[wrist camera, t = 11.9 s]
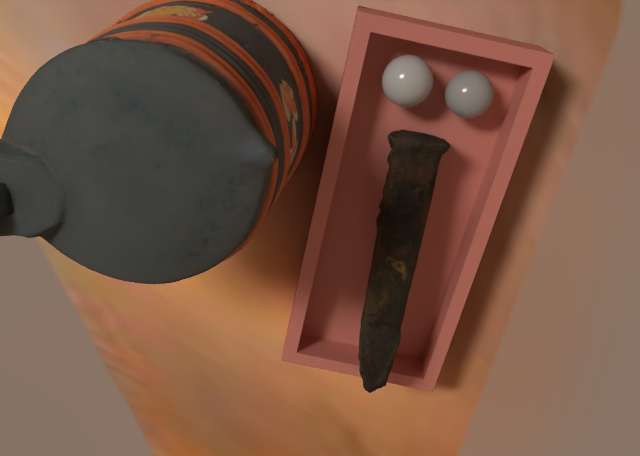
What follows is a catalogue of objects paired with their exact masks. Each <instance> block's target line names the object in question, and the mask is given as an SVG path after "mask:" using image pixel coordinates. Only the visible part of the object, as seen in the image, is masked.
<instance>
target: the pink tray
mask: <svg viewBox="0 0 640 456" xmlns="http://www.w3.org/2000/svg"><path fill="white" fill-rule="evenodd" d="M402 55H415V56H418V57H420V58H422V59H423V60H424V61H426V62H427V64H428V65H429V66H430V68H431V70H432V73H433V87H432V90H431V92H430V94H429V96H428V97H427V98H426V99H425V100H424V101H423V102H422V103H420V104H418V105H416V106H413V107H401V106H398V105H396V104H394V103H392V102H391V101H390V100H389V99H388V98H387V97H386V95H385V93H384V91H383V87H382V77H383V73H384V70H385V68H386V67H387V65H388V64H389V63H390V62H391V61H392V60H394V59H395V58H397V57H399V56H402ZM554 57H555V54H553V53H551V52H549V51H547V50H546V49H544V48H542V47H540V46H536V45H532V44H527V43H523V42H518V41H514V40H509V39H505V38H500V37H496V36H491V35H487V34H482V33H478V32H473V31H469V30H464V29H460V28H455V27H451V26H446V25H442V24H438V23H433V22H429V21H424V20H420V19H415V18H411V17H406V16H402V15H397V14H393V13H388V12H384V11H379V10H375V9H370V8H366V7H361V6H358V9H357V13H356V18H355V22H354V27H353V32H352V36H351V41H350V45H349V50H348V55H347V59H346V64H345V68H344V73H343V78H342V82H341V87H340V91H339V96H338V101H337V105H336V110H335V114H334V119H333V124H332V128H331V133H330V137H329V142H328V147H327V151H326V156H325V160H324V165H323V170H322V174H321V179H320V183H319V188H318V192H317V197H316V202H315V206H314V211H313V215H312V220H311V225H310V229H309V234H308V238H307V243H306V248H305V252H304V257H303V261H302V266H301V271H300V275H299V280H298V284H297V289H296V294H295V298H294V303H293V307H292V312H291V317H290V321H289V326H288V330H287V335H286V340H285V345H284V350H283V355H282V361H286V362H291V363H296V364H301V365H305V366H310V367H315V368H320V369H325V370H330V371H335V372H340V373H344V374H349V375H354V376H359V377H361V375H360V372H359V368H360V361H359V359H358V353H359V336H360V327H361V323H360V322H361V316H362V311H363V307H364V303H365V296H366V291H367V285H368V279H369V273H370V269H371V264H372V257H373V251H374V245H375V239H376V235H377V226H376V219H377V217H378V215H379V213H380V209H379V205H380V202H381V200H382V198H383V187H384V185H385V181H386V176H387V172H388V169H389V164H388V162H387V157H388V155H389V153H390V152H391V147H390V144H389V141H388V135H389V133H391V132H392V131H400V130H402V129H403V130H408V131H416V132H421V133H426V134H430V135H434V136H437V137H439V138H442V139H445V140H446V141H447V142H448V143H449V144H450V145H451V146H450V148H449V150H448V151H447V152H446V153H444V154H443V155H442V157H441V159H440V163H439V167H438V172H437V176H436V180H435V187H434V192H433V196H432V200H431V205H430V210H429V214H428V218H427V222H426V226H425V230H424V235H423V239H422V243H421V247H420V251H419V256H418V260H417V265H416V269H415V272H414V275H413V279H412V284H411V288H410V291H409V294H408V300H407V304H406V309H405V314H404V319H403V322H402V325H401V339H400V344H399V347H398V349H397V352H396V355H395V357H394V360H393V367H392V369H391V371H390V374H389V377H388V380H387V382H388V383H393V384H398V385H403V386H408V387H413V388H417V389H422V390H427V391H432V392H433V390H434V387H435V384H436V382H437V379H438V376H439V373H440V371H441V368H442V365H443V362H444V360H445V357H446V354H447V351H448V349H449V346H450V343H451V340H452V338H453V335H454V332H455V329H456V327H457V324H458V321H459V318H460V316H461V313H462V310H463V307H464V305H465V302H466V299H467V296H468V294H469V291H470V288H471V286H472V283H473V280H474V277H475V275H476V272H477V269H478V266H479V264H480V261H481V258H482V255H483V253H484V250H485V247H486V244H487V242H488V239H489V236H490V233H491V231H492V228H493V225H494V222H495V220H496V217H497V214H498V211H499V209H500V206H501V203H502V200H503V198H504V195H505V192H506V189H507V187H508V184H509V181H510V178H511V176H512V173H513V170H514V167H515V165H516V162H517V159H518V156H519V154H520V151H521V148H522V145H523V143H524V140H525V137H526V134H527V132H528V129H529V126H530V123H531V121H532V118H533V115H534V112H535V110H536V107H537V104H538V101H539V99H540V96H541V93H542V90H543V88H544V85H545V82H546V79H547V77H548V74H549V71H550V68H551V66H552V63H553V60H554ZM466 70H476V71H479V72H481V73H483V74H485V75H486V76H487V77H488V78H489V79H490V81H491V83H492V85H493V89H494V97H493V101H492V104H491V105H490V107H489V108H488V110H487V111H486V112H485V113H483V114H482V115H480V116H478V117H476V118H470V119H466V118H461V117H458V116H456V115H455V114H453V113H452V112H451V111H450V110H449V108H448V106H447V104H446V101H445V90H446V87H447V85H448V83H449V81H450V80H451V79H452V78H453V77H454V76H455V75H456V74H458V73H460V72H462V71H466Z"/></svg>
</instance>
